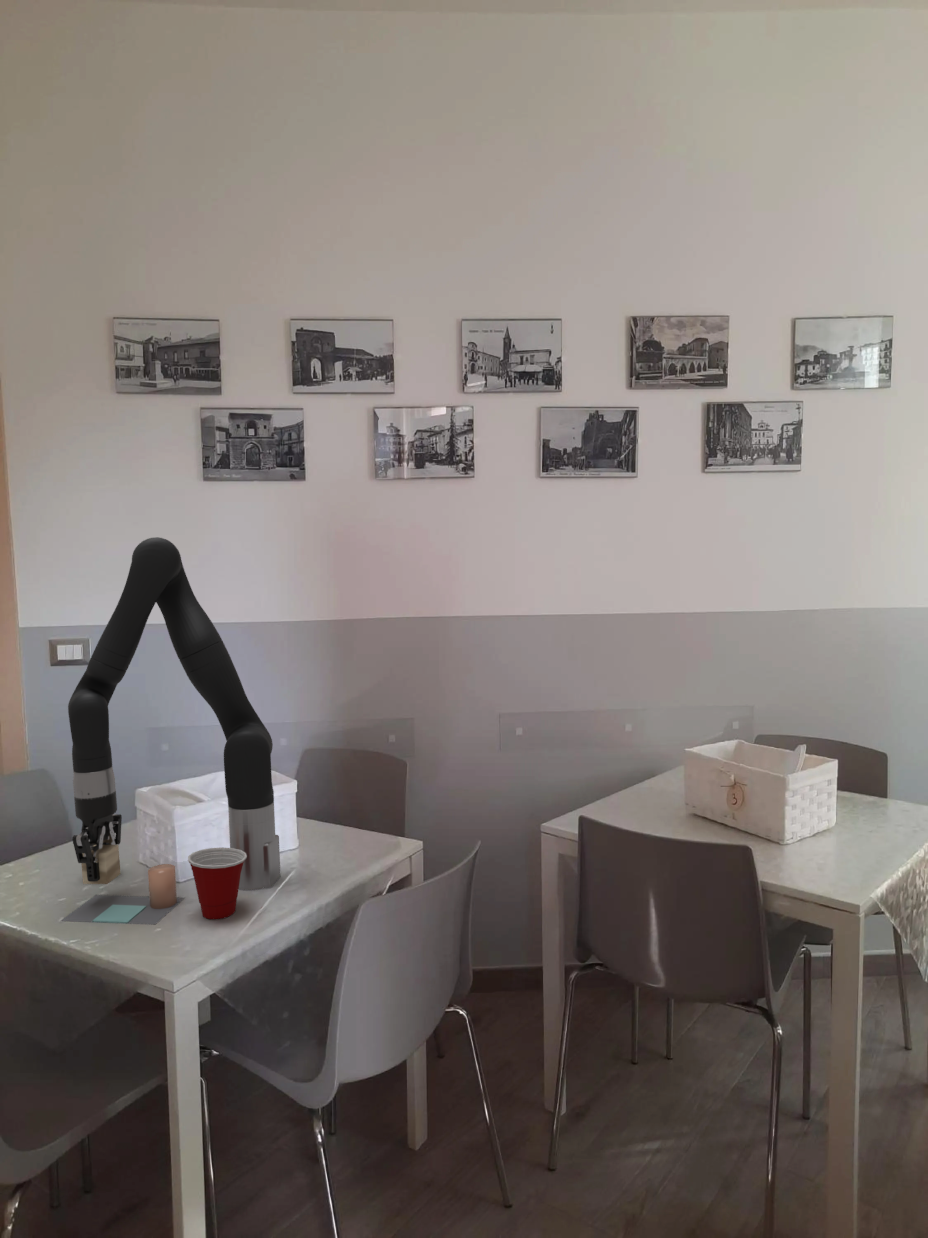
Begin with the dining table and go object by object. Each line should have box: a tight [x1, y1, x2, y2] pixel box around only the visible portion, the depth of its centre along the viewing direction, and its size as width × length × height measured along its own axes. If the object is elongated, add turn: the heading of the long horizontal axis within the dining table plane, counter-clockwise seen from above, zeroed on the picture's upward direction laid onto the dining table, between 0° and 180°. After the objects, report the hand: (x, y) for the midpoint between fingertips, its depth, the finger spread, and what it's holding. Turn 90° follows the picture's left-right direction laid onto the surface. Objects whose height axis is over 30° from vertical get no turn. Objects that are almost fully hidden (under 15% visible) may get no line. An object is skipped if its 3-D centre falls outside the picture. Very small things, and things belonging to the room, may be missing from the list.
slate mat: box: [60, 894, 185, 926], centre depth 163 cm, size 19×12×1 cm, turn 83°
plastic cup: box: [187, 847, 247, 920], centre depth 159 cm, size 11×11×12 cm
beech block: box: [80, 845, 122, 885], centre depth 165 cm, size 5×5×6 cm
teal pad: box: [91, 905, 146, 924], centre depth 160 cm, size 7×7×1 cm
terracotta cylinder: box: [147, 863, 178, 909], centre depth 164 cm, size 5×5×7 cm
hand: (101, 874), depth 166 cm, fingers closed on beech block, 5 cm apart
